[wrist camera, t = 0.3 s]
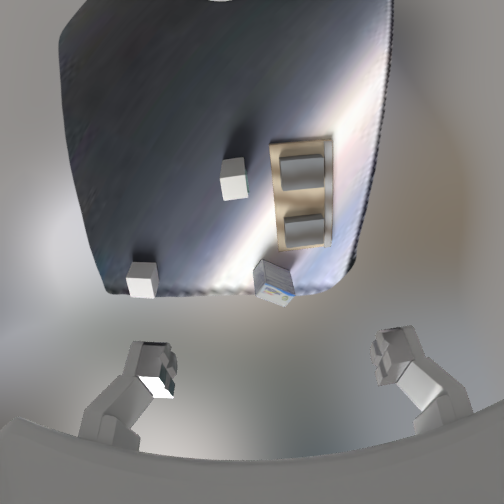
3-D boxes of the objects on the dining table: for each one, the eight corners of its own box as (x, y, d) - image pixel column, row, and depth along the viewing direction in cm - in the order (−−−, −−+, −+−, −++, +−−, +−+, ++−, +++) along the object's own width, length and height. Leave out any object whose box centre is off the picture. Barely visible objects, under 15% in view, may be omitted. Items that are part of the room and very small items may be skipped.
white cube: (159, 281, 70) (154, 298, 65) (136, 280, 69) (131, 297, 64) (156, 262, 66) (150, 279, 61) (132, 261, 66) (125, 277, 61)
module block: (222, 160, 53) (219, 178, 45) (245, 156, 53) (246, 174, 45) (225, 179, 56) (223, 200, 47) (247, 176, 56) (249, 197, 47)
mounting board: (268, 144, 52) (270, 148, 49) (330, 139, 52) (336, 143, 49) (278, 249, 66) (280, 258, 63) (330, 242, 65) (334, 251, 63)
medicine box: (252, 271, 69) (254, 296, 62) (262, 257, 67) (265, 282, 60) (280, 282, 72) (284, 308, 65) (290, 270, 70) (296, 295, 62)
